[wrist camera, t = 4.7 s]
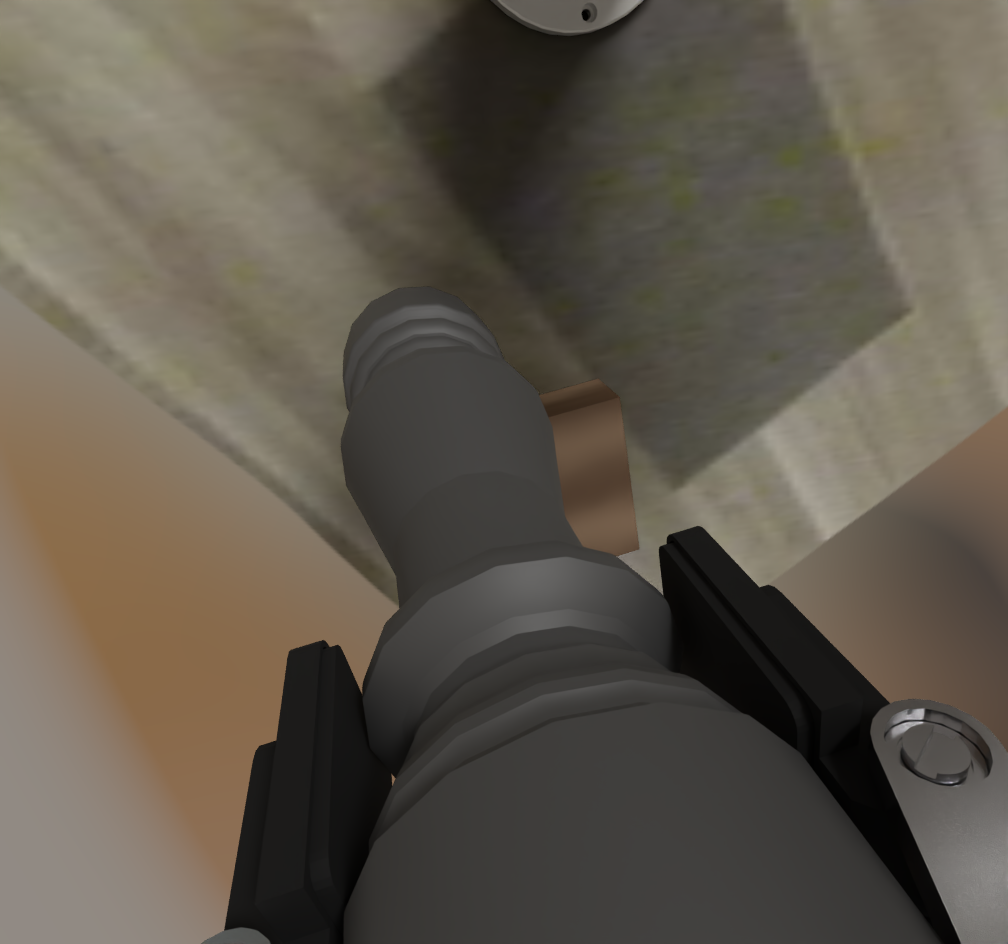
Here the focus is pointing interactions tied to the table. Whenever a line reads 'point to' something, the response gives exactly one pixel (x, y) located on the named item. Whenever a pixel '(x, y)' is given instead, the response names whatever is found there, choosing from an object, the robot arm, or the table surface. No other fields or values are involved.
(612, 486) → the walnut plinth
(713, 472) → the table surface
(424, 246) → the table surface
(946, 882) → the robot arm
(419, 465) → the candle holder
